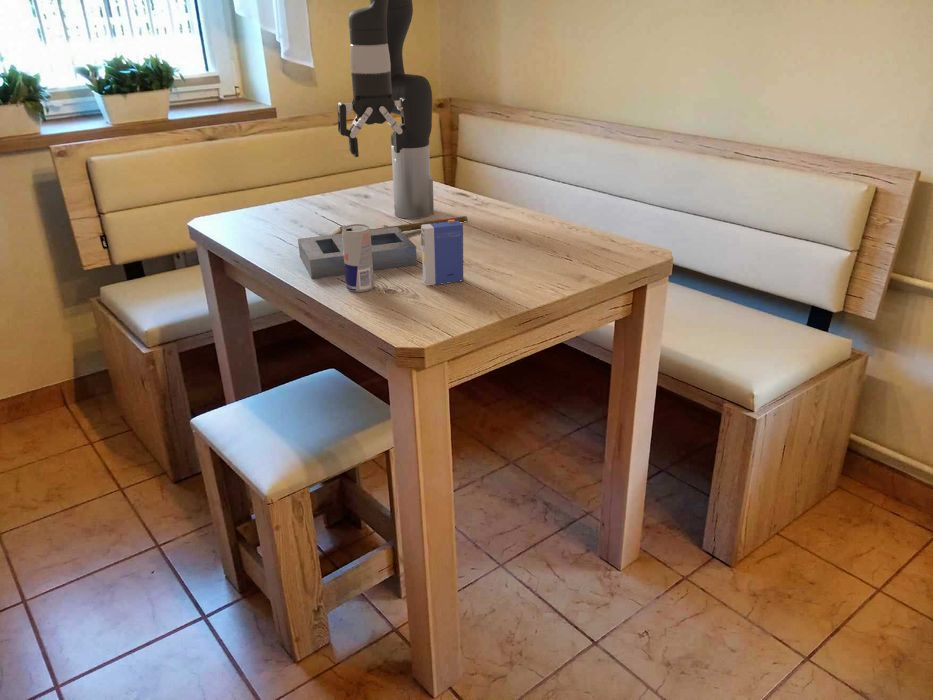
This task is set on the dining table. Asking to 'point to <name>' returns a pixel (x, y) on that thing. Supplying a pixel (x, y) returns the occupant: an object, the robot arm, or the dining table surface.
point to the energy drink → (358, 257)
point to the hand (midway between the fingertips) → (376, 154)
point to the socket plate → (328, 255)
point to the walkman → (442, 252)
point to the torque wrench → (412, 225)
